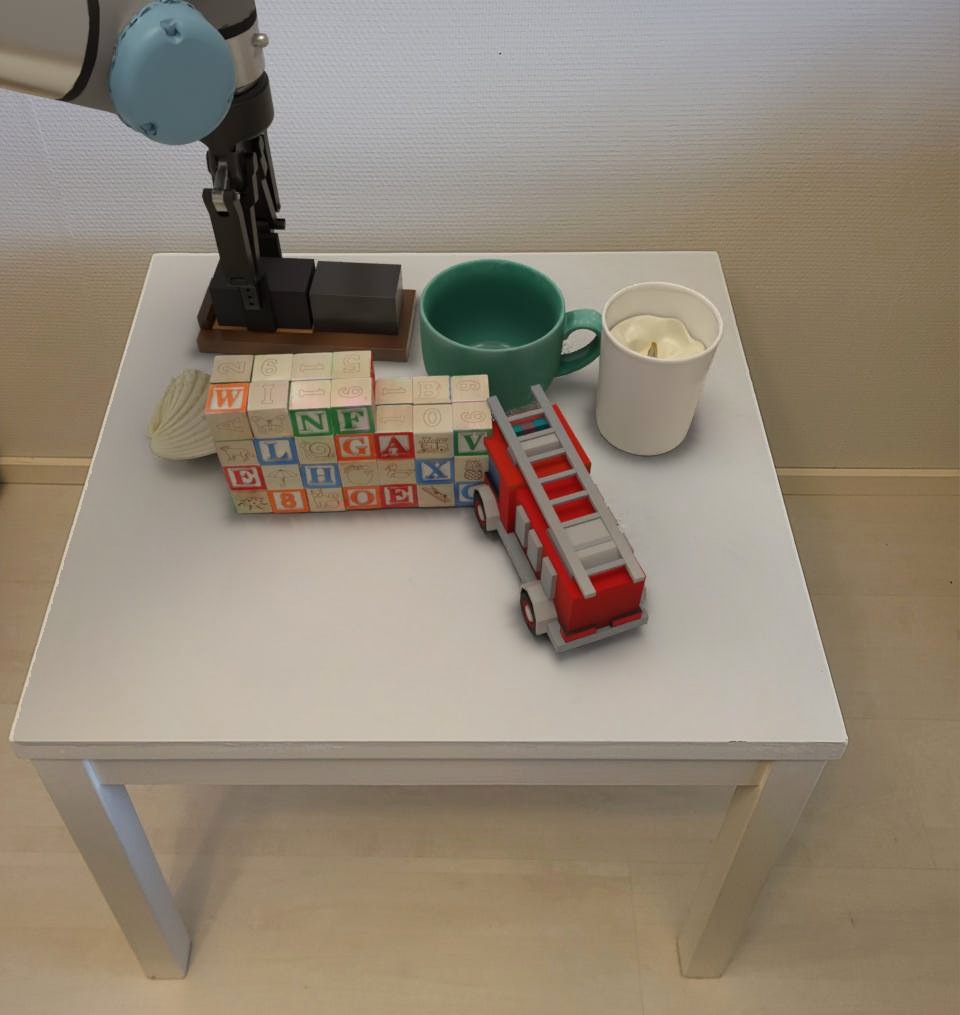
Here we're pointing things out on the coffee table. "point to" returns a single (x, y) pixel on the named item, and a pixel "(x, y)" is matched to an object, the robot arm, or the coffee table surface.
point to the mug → (502, 328)
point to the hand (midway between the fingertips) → (268, 308)
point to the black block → (286, 290)
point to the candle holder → (653, 364)
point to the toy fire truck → (557, 529)
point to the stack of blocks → (344, 433)
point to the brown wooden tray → (330, 317)
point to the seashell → (182, 418)
